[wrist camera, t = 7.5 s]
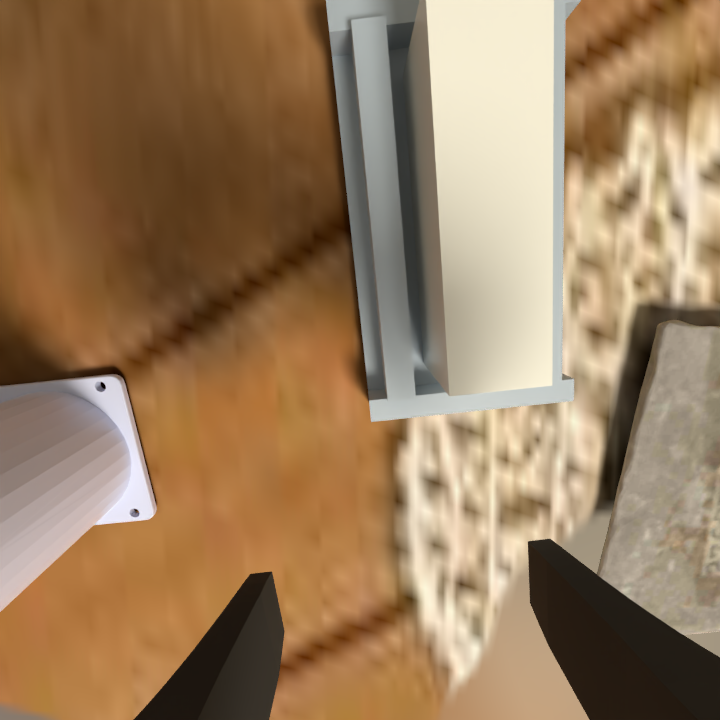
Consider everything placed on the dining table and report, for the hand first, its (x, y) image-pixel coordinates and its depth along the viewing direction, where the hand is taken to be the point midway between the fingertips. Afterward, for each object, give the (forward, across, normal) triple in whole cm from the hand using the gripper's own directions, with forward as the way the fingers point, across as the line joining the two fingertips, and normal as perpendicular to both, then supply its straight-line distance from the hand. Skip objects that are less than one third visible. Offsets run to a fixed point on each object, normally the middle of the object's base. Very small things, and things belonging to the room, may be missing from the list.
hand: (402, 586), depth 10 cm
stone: (+10, -16, +5) cm, 20 cm away
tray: (+9, -4, -10) cm, 14 cm away
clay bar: (+8, -4, -10) cm, 14 cm away
